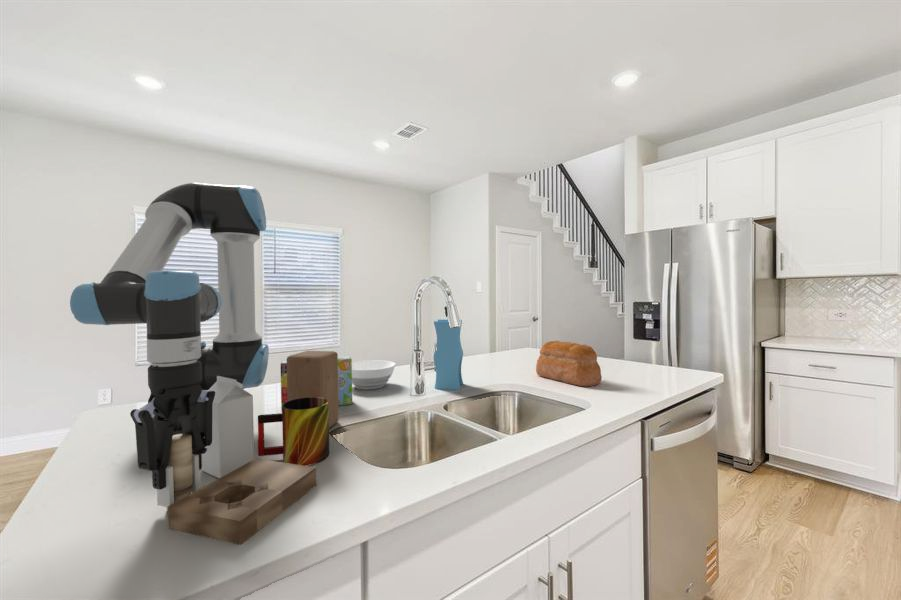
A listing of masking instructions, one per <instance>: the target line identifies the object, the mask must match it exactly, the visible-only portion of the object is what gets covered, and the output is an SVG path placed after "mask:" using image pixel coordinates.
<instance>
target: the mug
mask: <svg viewBox="0 0 901 600" xmlns="http://www.w3.org/2000/svg"><path fill="white" fill-rule="evenodd" d="M278 422H279V423H281V422H282V425H281V426H282V445H278V446H276V445H275V446H266V447H265V424H270V423H278ZM257 436H258V437H257V457H265V456H275V455H282V462H283V463H290V464H297V465H304V466H312V465H315V464H318V463H321V462H323V461H326V459H327V458H328V457H329V455H330V428H329V408H328V400H327V399H325V398H320V397H307V398H299V399H294V400H290V401H287V402H285V403H284V404H283V405H282V410H281V412H280V413H270V414H269V413H267V414H259V415H257Z"/></svg>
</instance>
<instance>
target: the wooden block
mask: <svg viewBox="0 0 901 600" xmlns="http://www.w3.org/2000/svg"><path fill="white" fill-rule="evenodd" d="M338 357H339V354H338V352H336V351H333V350H332V351H331V350H305V351H301V352H298V353H295V354H290V355H288V356H287V357H286V360H287V401H290V400H294V399H299V398H307V397H320V398H325V399H327V400H328V408H329V429H330V428H331V427H333V426H334V425H336V424H337V423H338V422H339V417H340V416H339V413H340V412H339V406H338Z"/></svg>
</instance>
